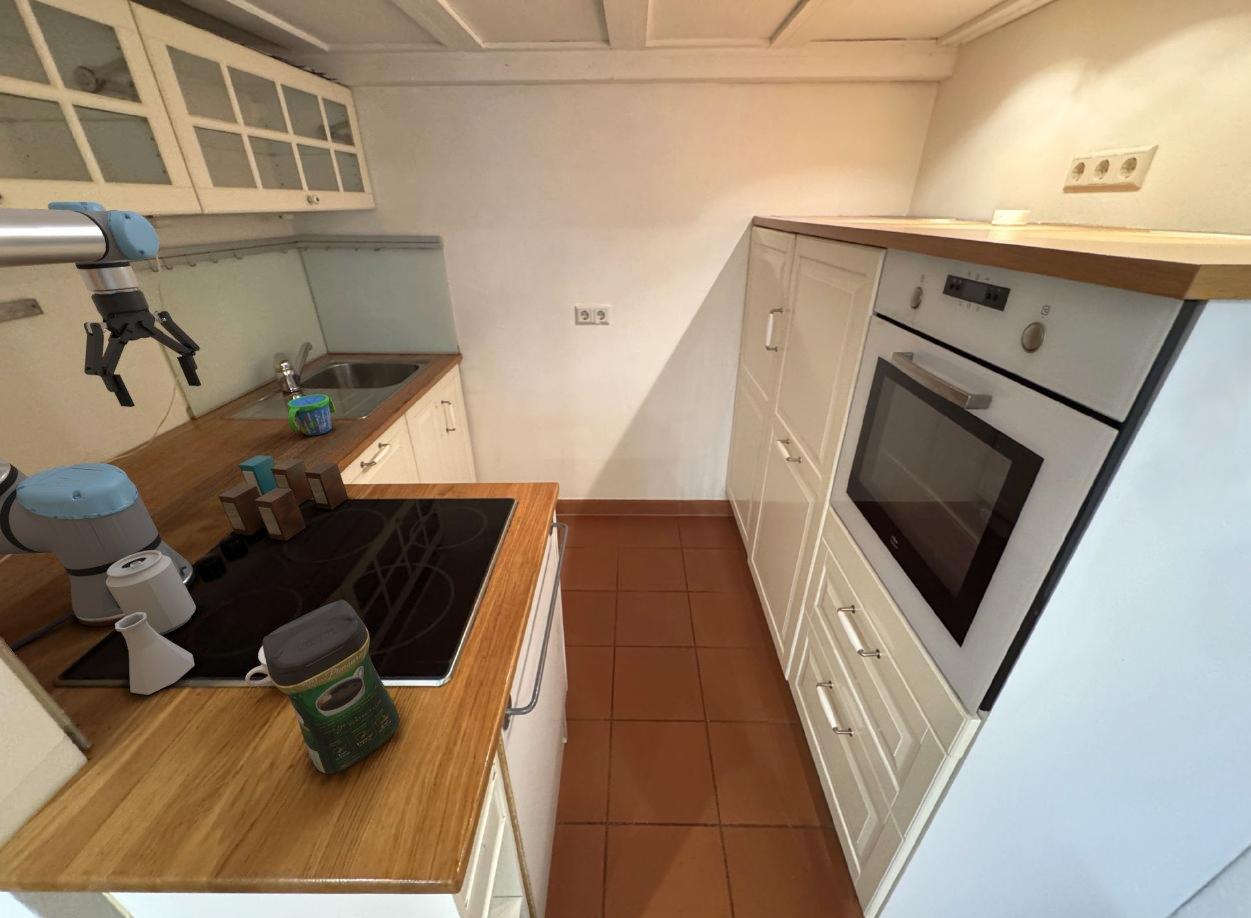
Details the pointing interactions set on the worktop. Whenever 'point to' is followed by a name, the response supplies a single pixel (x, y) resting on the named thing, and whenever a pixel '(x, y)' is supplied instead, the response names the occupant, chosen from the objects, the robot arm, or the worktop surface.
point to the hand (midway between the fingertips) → (163, 395)
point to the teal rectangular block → (259, 473)
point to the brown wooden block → (280, 513)
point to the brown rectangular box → (293, 478)
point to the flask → (151, 656)
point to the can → (151, 590)
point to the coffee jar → (332, 685)
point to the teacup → (261, 669)
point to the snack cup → (311, 414)
